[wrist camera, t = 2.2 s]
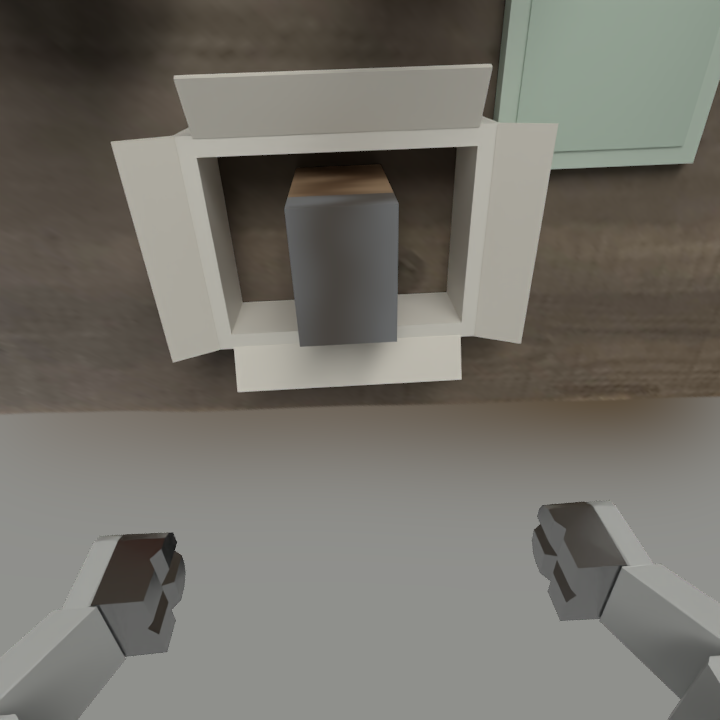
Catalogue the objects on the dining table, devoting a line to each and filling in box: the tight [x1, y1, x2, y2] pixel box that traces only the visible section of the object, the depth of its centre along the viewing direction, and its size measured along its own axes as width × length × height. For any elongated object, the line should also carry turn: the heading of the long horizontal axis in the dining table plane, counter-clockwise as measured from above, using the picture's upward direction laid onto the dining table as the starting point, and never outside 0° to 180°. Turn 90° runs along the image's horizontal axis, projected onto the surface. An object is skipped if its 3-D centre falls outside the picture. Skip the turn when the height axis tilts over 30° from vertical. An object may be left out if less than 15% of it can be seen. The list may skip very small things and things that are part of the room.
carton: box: [111, 64, 559, 392], centre depth 28 cm, size 21×17×6 cm
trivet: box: [493, 0, 720, 169], centre depth 26 cm, size 12×12×1 cm
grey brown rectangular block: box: [284, 164, 399, 347], centre depth 27 cm, size 5×7×9 cm
